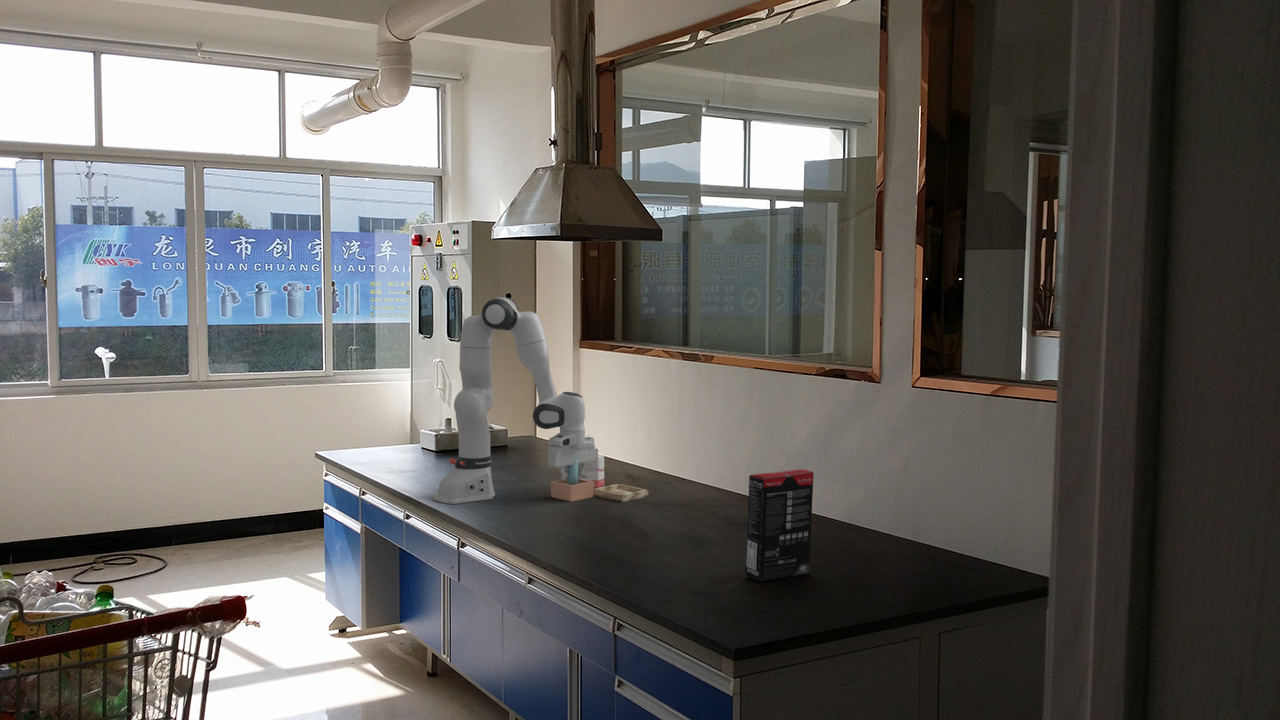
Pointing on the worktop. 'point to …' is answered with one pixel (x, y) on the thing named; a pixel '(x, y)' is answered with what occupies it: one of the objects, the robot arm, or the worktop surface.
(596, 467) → the ink cartridge box
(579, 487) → the cup
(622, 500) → the birch tray
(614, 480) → the worktop surface
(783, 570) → the graphics card box
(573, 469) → the teal peg
